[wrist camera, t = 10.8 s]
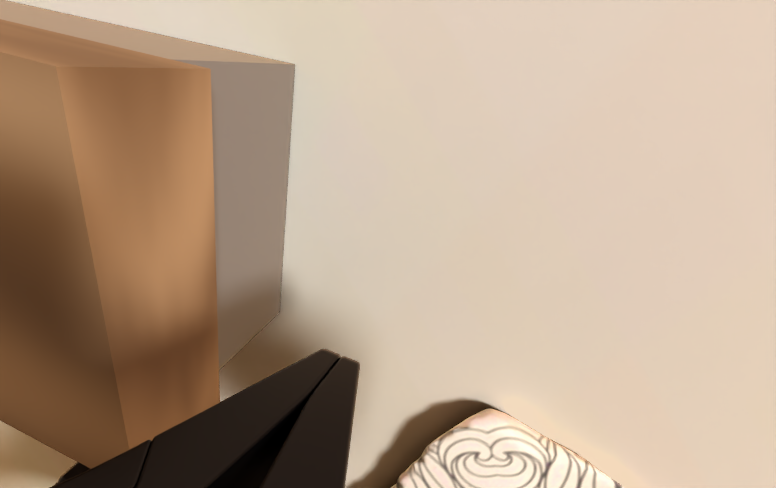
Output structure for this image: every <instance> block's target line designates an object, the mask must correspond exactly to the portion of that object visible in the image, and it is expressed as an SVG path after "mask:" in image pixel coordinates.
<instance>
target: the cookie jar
mask: <svg viewBox="0 0 776 488" xmlns="http://www.w3.org/2000/svg"><path fill="white" fill-rule="evenodd" d="M391 488H624V487H623V486H622V485H620V484H619V483H617V482H616V481H614V480H613V479H611V478H610V477H608V476H607V475H606V474H604V473H603V472H601V471H600V470H598V469H597V468H596V467H594V466H593V465H592V464H591V463H590V462H589V461H587V460H585V459H584V458H582V457H580V456H579V455H577V454H575V453H574V452H572V451H570V450H568V449H567V448H565V447H563V446H561V445H559V444H558V443H556V442H554V441H552V440H550V439H549V438H547V437H545V436H543V435H542V434H540V433H538V432H537V431H535V430H533V429H532V428H530V427H528V426H526V425H525V424H523V423H521V422H520V421H518V420H516V419H515V418H513V417H511V416H509V415H507V414H505V413H503V412H500V411H497V410H494V409H485V410H483V411H481V412H479V413H477V414H475V415H473V416H471V417H469V418H467V419H466V420H464V421H463V422H461V423H460V424H458V425H457V426H455V427H453V428H452V429H450V430H449V431H447V432H446V433H444V434H443V435H441V436H440V437H438V438H437V439H435V440H434V441H433V442H432V443H430V444H429V445H428V446H427V447H426V448H425V450H424V451H423V453H422V455H421V457H420V458H419V459H418V460H416V461H415V462H413V463H412V464H411V465H410V466H409V467H408V469H407V470H406V471H405V472H403V473H402V474H401V475H400V476H399V478H398V481H397V484H395V485H394V486H392V487H391Z"/></svg>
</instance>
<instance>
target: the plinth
mask: <svg viewBox="0 0 776 488" xmlns="http://www.w3.org/2000/svg"><path fill="white" fill-rule="evenodd" d="M0 19H2V20H6V21H10V22H15V23H19V24H23V25H27V26H32V27H36V28H40V29H44V30H49V31H53V32H57V33H61V34H65V35H70V36H74V37H78V38H82V39H87V40H91V41H95V42H99V43H104V44H108V45H112V46H116V47H120V48H125V49H129V50H133V51H137V52H142V53H146V54H150V55H154V56H159V57H163V58H167V59H171V60H175V61H180V62H184V63H188V64H192V65H197V66H201V67H205V68H209V69H211V100H212V137H213V173H214V210H215V246H216V283H217V319H218V356H219V370H220V369H221V368H222V367H223V366H224V365H225V364H226V363H227V362H228V361H229V360H230V359H231V358H232V357H233V356H235V355H236V354H237V353H238V352H239V351H240V350H241V349H242V348H243V347H244V346H245V345H246V344H247V343H248V342H249V341H250V340H251V339H252V338H253V337H254V336H255V335H256V334H257V333H259V332H260V331H261V330H262V329H263V328H264V327H265V326H266V325H267V324H268V323H269V322H270V321H271V320H272V319H273V318H274V317H275V316H276V315H277V314H278V313H279V312H280V298H281V282H282V266H283V250H284V234H285V218H286V202H287V186H288V170H289V154H290V138H291V122H292V106H293V90H294V74H295V64H291V63H286V62H282V61H277V60H273V59H268V58H264V57H259V56H255V55H250V54H246V53H241V52H237V51H232V50H228V49H223V48H219V47H214V46H210V45H205V44H201V43H196V42H192V41H187V40H183V39H178V38H174V37H169V36H165V35H160V34H155V33H151V32H146V31H142V30H137V29H133V28H128V27H124V26H119V25H115V24H110V23H106V22H101V21H97V20H92V19H88V18H83V17H79V16H74V15H70V14H65V13H61V12H56V11H52V10H47V9H43V8H38V7H34V6H29V5H25V4H20V3H15V2H11V1H6V0H0Z"/></svg>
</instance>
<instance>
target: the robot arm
mask: <svg viewBox="0 0 776 488" xmlns="http://www.w3.org/2000/svg"><path fill="white" fill-rule="evenodd" d="M359 370H360V363H359V362H357V361H355V360H352V359H350V358H347V357H341V356H340V355H339V354H337V353H334V352H332V351H329V350H327V349H321V350H319V351H317V352H315V353H313V354H311V355H309V356H308V357H306V358H304V359H302V360H300V361H298V362H296V363H294V364H292V365H290V366H288V367H287V368H285V369H283V370H281V371H279V372H277V373H275V374H273V375H271V376H269V377H267V378H266V379H264V380H262V381H260V382H258V383H256V384H254V385H252V386H250V387H248V388H246V389H244V390H243V391H241V392H239V393H237V394H235V395H233V396H231V397H229V398H227V399H225V400H223V401H222V402H220V403H218V404H216V405H214V406H212V407H210V408H208V409H206V410H204V411H202V412H200V413H199V414H197V415H195V416H193V417H191V418H189V419H187V420H185V421H183V422H181V423H179V424H178V425H176V426H174V427H172V428H170V429H168V430H166V431H164V432H162V433H160V434H158V435H157V436H155V437H154V438H153V440H152V441H151V440H147V441H145V442H143V443H141V444H139V445H137V446H135V447H133V448H131V449H129V450H127V451H126V452H124V453H122V454H120V455H118V456H116V457H114V458H112V459H110V460H107V461H105V462H103V463H101V464H99V465H97V466H95V467H93V468H91V469H90V468H88V467H87V466H85V465H83V464H81V463H79V462H77V463H76V464H75V465H74V466H72V467H71V468H70V469H69V470H68V471H67V472H66V473H64V474H63V475H62V476H61V477H60V478H59V481H58V482H57V483H56V484H55V485H54V486H52V487H50V488H345V481H346V473H347V465H348V457H349V449H350V441H351V433H352V425H353V417H354V410H355V402H356V394H357V386H358V378H359Z"/></svg>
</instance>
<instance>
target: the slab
mask: <svg viewBox="0 0 776 488" xmlns="http://www.w3.org/2000/svg"><path fill="white" fill-rule="evenodd" d="M218 403H220V392H219V356H218V319H217V283H216V246H215V210H214V173H213V137H212V100H211V69H209V68H205V67H201V66H197V65H192V64H188V63H184V62H180V61H175V60H171V59H167V58H163V57H159V56H154V55H150V54H146V53H142V52H137V51H133V50H129V49H125V48H120V47H116V46H112V45H108V44H104V43H99V42H95V41H91V40H87V39H82V38H78V37H74V36H70V35H65V34H61V33H57V32H53V31H49V30H44V29H40V28H36V27H32V26H27V25H23V24H19V23H15V22H10V21H6V20H2V19H0V420H1V421H3V422H4V423H6V424H8V425H10V426H12V427H14V428H16V429H17V430H19V431H21V432H23V433H25V434H27V435H29V436H31V437H32V438H34V439H36V440H38V441H40V442H42V443H44V444H45V445H47V446H49V447H51V448H53V449H55V450H57V451H59V452H60V453H62V454H64V455H66V456H68V457H70V458H72V459H73V460H75V461H77V462H79V463H81V464H83V465H85V466H87V467H88V468H90V469H91V468H93V467H95V466H97V465H99V464H101V463H103V462H105V461H107V460H110V459H112V458H114V457H116V456H118V455H120V454H122V453H124V452H126V451H127V450H129V449H131V448H133V447H135V446H137V445H139V444H141V443H143V442H145V441H147V440H151V441H152V440H153V438H154V437H155V436H157V435H158V434H160V433H162V432H164V431H166V430H168V429H170V428H172V427H174V426H176V425H178V424H179V423H181V422H183V421H185V420H187V419H189V418H191V417H193V416H195V415H197V414H199V413H200V412H202V411H204V410H206V409H208V408H210V407H212V406H214V405H216V404H218Z"/></svg>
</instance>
